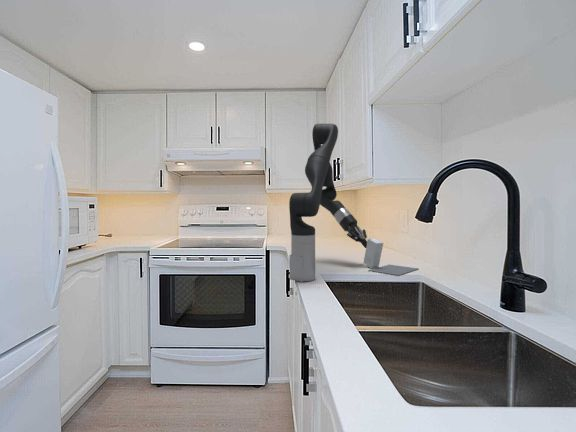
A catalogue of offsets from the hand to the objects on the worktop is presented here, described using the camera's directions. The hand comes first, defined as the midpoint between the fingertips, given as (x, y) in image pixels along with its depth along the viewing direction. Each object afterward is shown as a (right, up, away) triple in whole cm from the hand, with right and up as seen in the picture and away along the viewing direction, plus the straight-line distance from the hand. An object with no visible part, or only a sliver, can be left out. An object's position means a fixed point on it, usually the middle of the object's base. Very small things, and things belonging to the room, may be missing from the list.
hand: (368, 246), depth 154 cm
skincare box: (+1, -8, 0) cm, 9 cm away
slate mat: (+9, -9, -7) cm, 15 cm away
